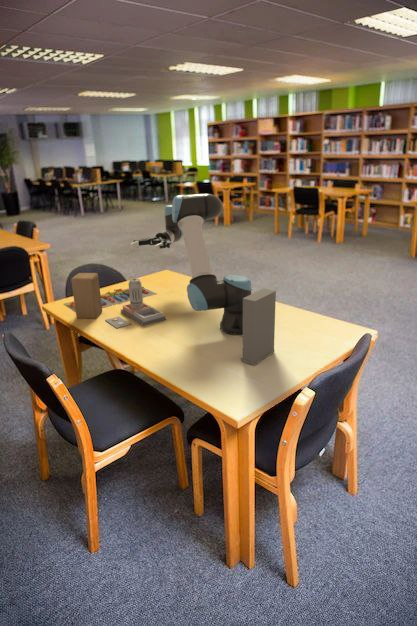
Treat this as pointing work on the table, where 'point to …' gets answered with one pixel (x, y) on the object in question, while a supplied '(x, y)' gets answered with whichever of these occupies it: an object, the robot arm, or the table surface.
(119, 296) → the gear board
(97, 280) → the wooden block
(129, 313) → the socket plate
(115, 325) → the grey button plate
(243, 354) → the upright grey panel
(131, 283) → the energy drink can
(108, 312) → the table surface
